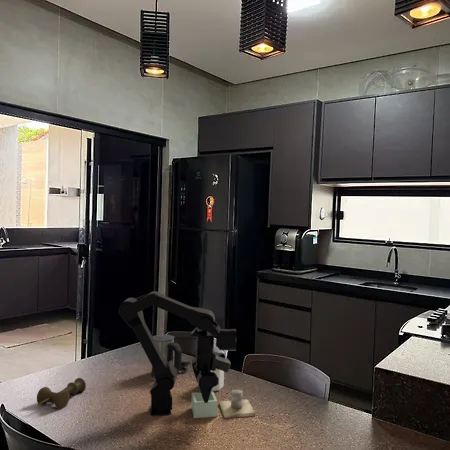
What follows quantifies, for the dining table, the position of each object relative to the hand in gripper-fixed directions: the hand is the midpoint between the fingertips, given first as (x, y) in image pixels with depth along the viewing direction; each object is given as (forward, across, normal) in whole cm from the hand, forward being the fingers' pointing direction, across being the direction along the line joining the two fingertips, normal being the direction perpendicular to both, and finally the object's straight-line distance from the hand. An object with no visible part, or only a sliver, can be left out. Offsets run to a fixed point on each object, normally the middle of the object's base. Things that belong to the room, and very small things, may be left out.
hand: (203, 396), depth 141 cm
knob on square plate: (+5, 0, -11) cm, 12 cm away
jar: (+5, +20, -6) cm, 22 cm away
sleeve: (+5, 0, 0) cm, 5 cm away
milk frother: (+6, +38, +8) cm, 39 cm away
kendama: (+6, +15, +47) cm, 50 cm away
